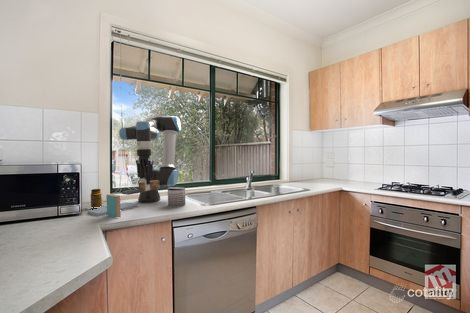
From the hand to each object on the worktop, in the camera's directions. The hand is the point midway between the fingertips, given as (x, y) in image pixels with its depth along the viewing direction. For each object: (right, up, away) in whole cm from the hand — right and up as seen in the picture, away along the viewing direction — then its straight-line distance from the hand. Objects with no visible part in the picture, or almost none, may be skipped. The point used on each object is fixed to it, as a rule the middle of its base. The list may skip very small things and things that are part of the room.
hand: (145, 189), depth 129 cm
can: (+13, -13, +21) cm, 28 cm away
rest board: (-24, -14, +12) cm, 31 cm away
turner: (-1, 0, -1) cm, 2 cm away
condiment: (-40, -15, +19) cm, 47 cm away
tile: (-16, -14, -3) cm, 22 cm away
